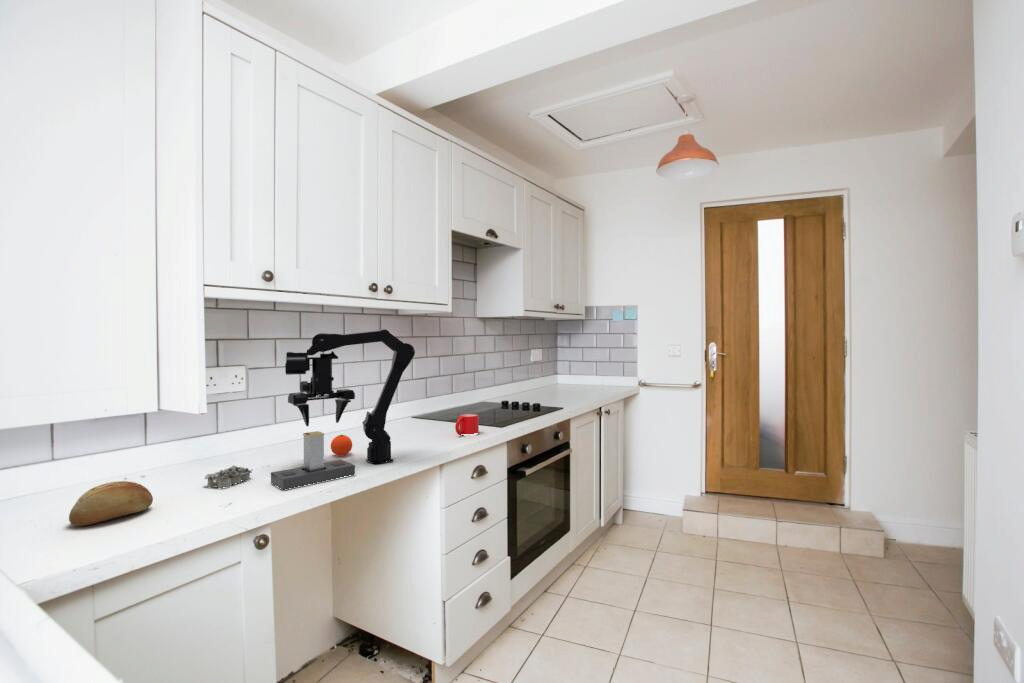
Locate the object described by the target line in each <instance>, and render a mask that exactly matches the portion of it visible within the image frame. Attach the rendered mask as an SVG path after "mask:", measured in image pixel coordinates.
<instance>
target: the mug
mask: <svg viewBox="0 0 1024 683" xmlns="http://www.w3.org/2000/svg"><path fill="white" fill-rule="evenodd" d="M479 420H480V419H479V414H477V413H461V414H459V415H458V418H457V421H456V422H455V426H454V427H455V432H456V434H457V435H459V436H461V434H474V433H478V432H479V422H480V421H479Z"/></svg>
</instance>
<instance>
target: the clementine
mask: <svg viewBox="0 0 1024 683" xmlns="http://www.w3.org/2000/svg"><path fill="white" fill-rule="evenodd" d="M330 442H331V443H330V450H331V452H332V453H333V454H334V455H335V456H339V457H343V456H346V455H348V454H349V453H350V452H351V451H352V449H353V441H352V439H351V438H350V436H347V435H345V434H338V435H337V436H335V437H334V438H333V439H332V440H331V441H330Z"/></svg>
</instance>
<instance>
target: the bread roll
mask: <svg viewBox="0 0 1024 683" xmlns="http://www.w3.org/2000/svg"><path fill="white" fill-rule="evenodd" d="M153 501H154V500H153V495H152V493H151V491H150V490H149V489H148V488H147V487H146V486H144V485H142V484H140V483H138V482H135V481H127V480H123V481H111V482H107V483H102V484H99V485H97V486H94V487H92V488H90V489H88V490H87V491H85V492H84V493H83V494H82V495H81V496H80V497H79V498H78V499H77V501H76V502H75V504H73V506H72V508H71V510H70V512H69V515H68V521H69V524H70V525H72V526H75V527H85V526H90V525H94V524H97V523H101V522H105V521H109V520H113V519H116V518H120V517H122V516H123V517H124V516H126V515H130V514H135V513H139V512H140V513H141V512H143V511H146V510H147V509H148V508H149V507H151V506H152V505H153Z"/></svg>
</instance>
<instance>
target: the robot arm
mask: <svg viewBox="0 0 1024 683" xmlns="http://www.w3.org/2000/svg"><path fill="white" fill-rule="evenodd" d="M371 343H372V344H373V343H382V344H384V345H385V346H386V347H387V348H389V349H390V350H391V351H393V354H392V360H391V367H390V370H389V372H388V375H387V378H386V380H385V382H384V385H383V387H382V390H381V392H380V394H379V397H378V400H377V402H376V404H375V407H374V408H373V410H372V411H371V412H369V411H367V412H366V413H365V414H366V415H365V418H364V420H363V421H362V425H363V428H362V429H363V430H362V431H363V432H364V435H365V437H366V438H368V439H370V440H371V441H369V442H368V447H367V448H366V449H367V450H366V453H367V455H366V460H367V461H366V460H365V461H366V462H368V461H370V462H369V463H371V462H372V463H371V464H373V463H380V464H382V463H381V462H385V463H387V462H386V461H391V462H394V459H393V458H392V441H391V436H390V434H389V433H388V432H387V431H386V430H385V426H386V422H387V421H386V420H387V414H388V413H387V412H388V410H389V408H390V406H391V404H392V400H393V398H394V395H395V393H396V390H397V389H398V385H399V383H400V381H401V378H402V376H403V374H404V372H405V370H406V369H407V367H408V366H409V365H410V364H411V362H412V360H413V359H414V357H415V354H416V351H415V347H414V346H413V345H412V344H410V343H408V342H404V341H402V340H400V339H399V338H397V337H396V336H395V335H394V334H392V333H391V332H390V331H389V330H387V329H384V328H383V329H378V330H371V331H361V332H352V333H343V334H341V333H327V332H320V333H318V334H316V335H314V337H312V340H311V346H310V347H309V348H308V349H306V352H293V351H287V352H286V356H285V357H286V358H285V359H286V360H285V366H284V367H285V369H284V370H285V375H286V376H291V375H306V374H307V372H309V371H312V372H311V374H312V375H311V376H310V382H308V381H307V380H303V381H299V390H300V392H292V393H289V394H288V396H287V403H288V404H291V405H292V406H294V407H297V409H298V410H299V411H300V415H301V416H302V418H303V422H304V424H305V426H306V427H309V425H310V404H308V403H307V402H308V401H317V400H318V401H319V400H328V399H329V400H331V399H334V400H335V423H337V424H338V423H339V422H340V420H341V418H342V416H343V413H344V410H345V409H346V408H347V406H348V404H349V403H351V402H352V400H355V399H356V394H355V391H354V390H353V389H349V388H344V389H336V391H335V390H333V381H334V377H333V360H339V356H338V355H337V354H336V353H335V351H333V350H335V349H338V348H342V347H345V346H354V345H362V344H371ZM329 351H331V352H330V353H324V352H329ZM317 353H320V354H319V356H315V355H316V354H317ZM310 360H311V361H310ZM334 391H335V392H334Z"/></svg>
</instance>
